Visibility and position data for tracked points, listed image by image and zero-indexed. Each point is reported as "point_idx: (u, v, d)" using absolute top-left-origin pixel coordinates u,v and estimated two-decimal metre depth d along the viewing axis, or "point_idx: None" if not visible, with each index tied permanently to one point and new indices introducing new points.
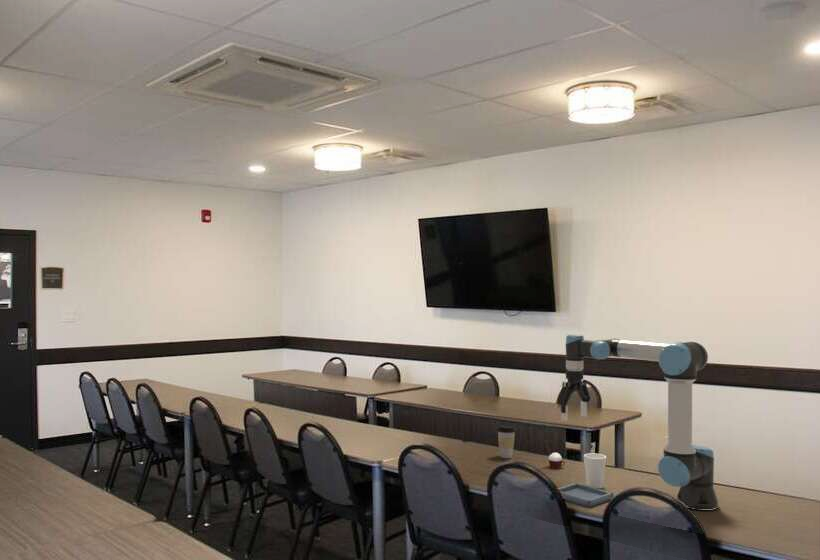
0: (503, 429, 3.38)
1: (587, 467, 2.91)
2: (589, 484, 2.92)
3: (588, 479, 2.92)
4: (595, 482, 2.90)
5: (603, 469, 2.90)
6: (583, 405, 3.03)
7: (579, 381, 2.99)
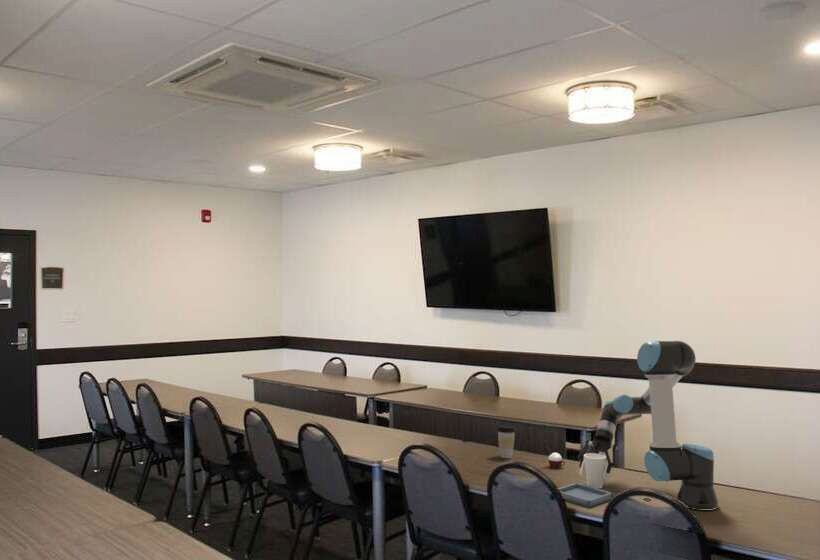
0: (503, 429, 3.38)
1: (587, 467, 2.91)
2: (589, 484, 2.92)
3: (588, 479, 2.92)
4: (595, 482, 2.90)
5: (603, 469, 2.90)
6: None
7: (606, 441, 2.99)
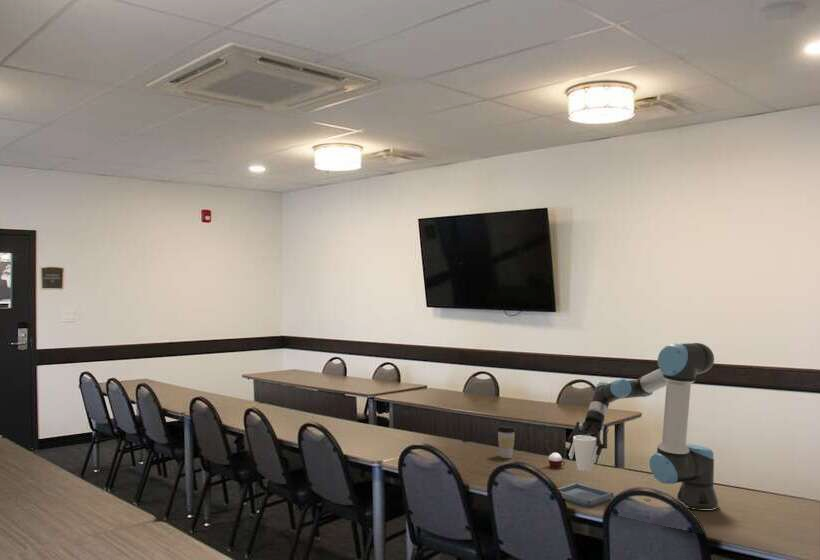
0: (503, 429, 3.38)
1: (576, 449, 2.83)
2: (579, 466, 2.83)
3: (578, 461, 2.83)
4: (585, 464, 2.82)
5: (593, 451, 2.82)
6: None
7: (597, 423, 2.90)
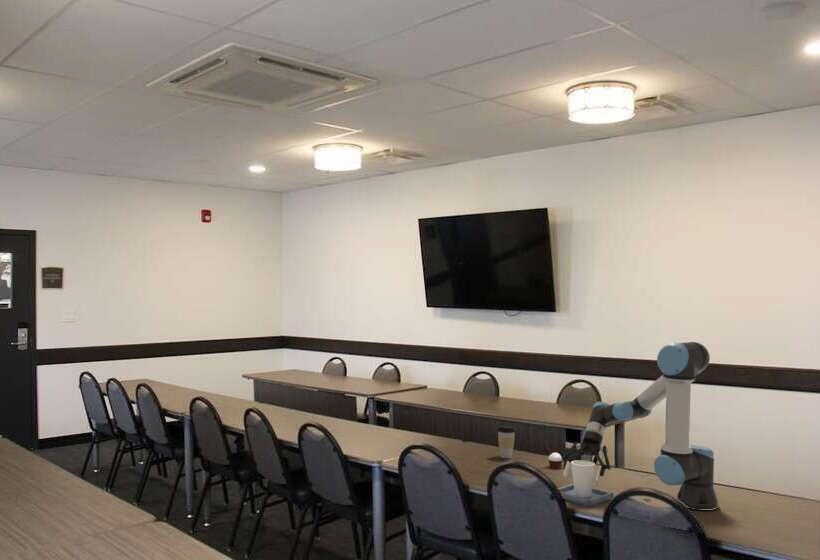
0: (503, 429, 3.38)
1: (575, 475, 2.76)
2: (577, 493, 2.76)
3: (576, 487, 2.76)
4: (583, 491, 2.75)
5: (591, 477, 2.75)
6: None
7: (595, 444, 2.83)
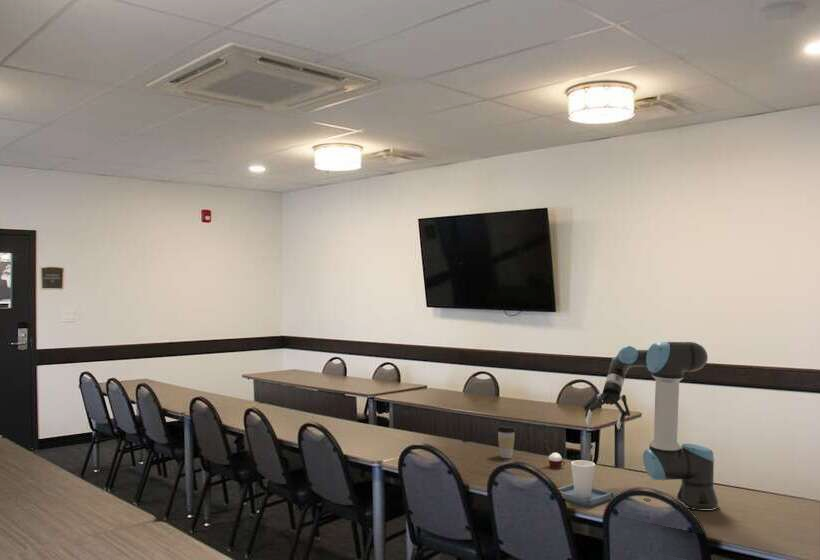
0: (503, 429, 3.38)
1: (575, 475, 2.76)
2: (577, 493, 2.76)
3: (576, 488, 2.76)
4: (583, 491, 2.74)
5: (591, 477, 2.75)
6: None
7: (614, 394, 3.02)
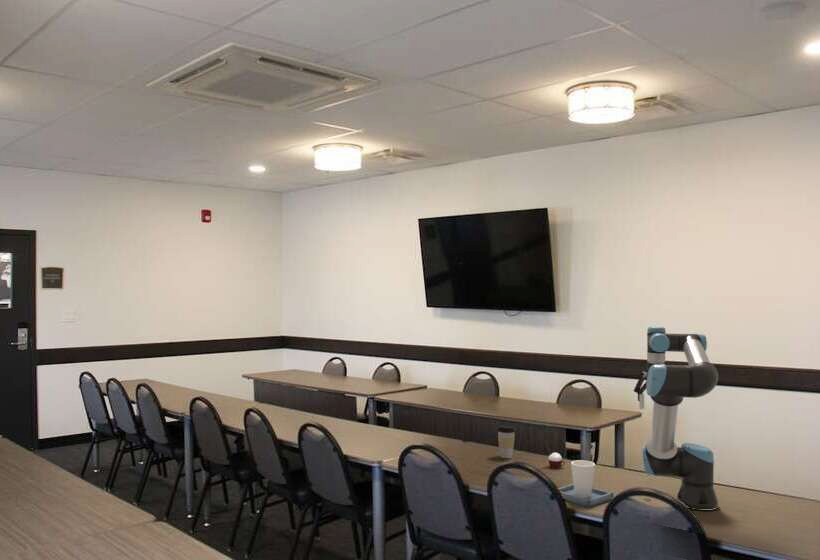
0: (503, 429, 3.38)
1: (575, 475, 2.76)
2: (577, 493, 2.76)
3: (576, 488, 2.76)
4: (583, 491, 2.74)
5: (591, 477, 2.75)
6: None
7: None
